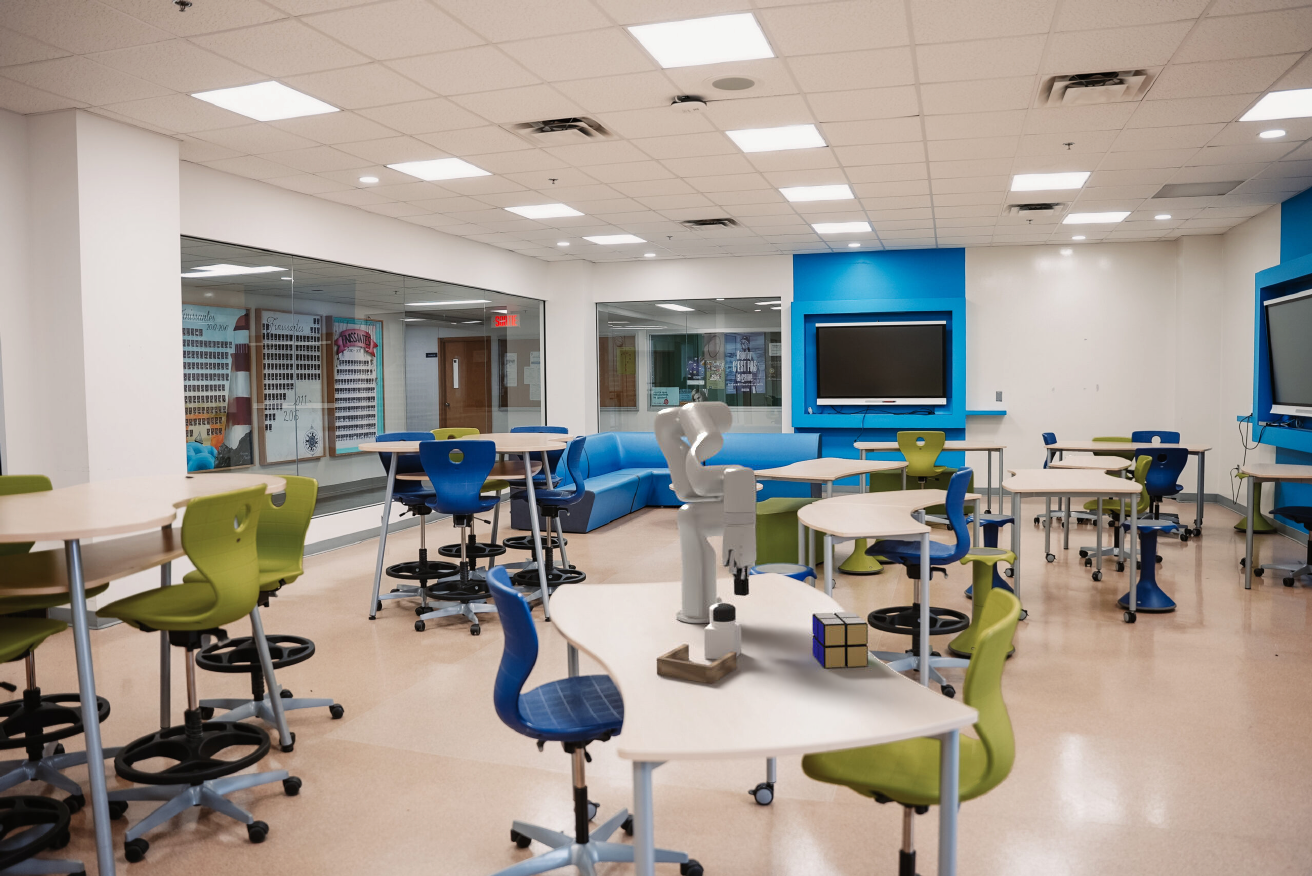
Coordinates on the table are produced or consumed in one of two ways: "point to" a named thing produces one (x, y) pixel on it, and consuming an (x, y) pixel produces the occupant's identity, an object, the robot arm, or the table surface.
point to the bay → (694, 666)
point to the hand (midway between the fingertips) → (741, 594)
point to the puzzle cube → (840, 640)
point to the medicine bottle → (722, 632)
